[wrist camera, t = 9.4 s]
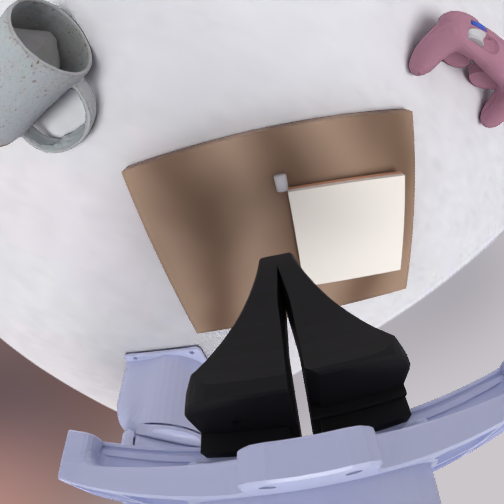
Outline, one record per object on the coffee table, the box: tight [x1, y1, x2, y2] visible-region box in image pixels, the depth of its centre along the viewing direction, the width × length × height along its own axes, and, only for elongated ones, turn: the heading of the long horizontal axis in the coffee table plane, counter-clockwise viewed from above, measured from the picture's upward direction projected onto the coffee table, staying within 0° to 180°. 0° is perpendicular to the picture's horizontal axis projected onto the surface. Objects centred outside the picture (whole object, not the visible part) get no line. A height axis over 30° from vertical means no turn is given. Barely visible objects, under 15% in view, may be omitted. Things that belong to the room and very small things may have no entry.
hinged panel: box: [273, 171, 405, 285], centre depth 20 cm, size 9×10×1 cm
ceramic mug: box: [0, 0, 96, 153], centre depth 12 cm, size 11×8×8 cm
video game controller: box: [409, 11, 504, 128], centre depth 12 cm, size 10×5×7 cm, turn 74°
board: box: [122, 109, 415, 333], centre depth 22 cm, size 20×16×1 cm
